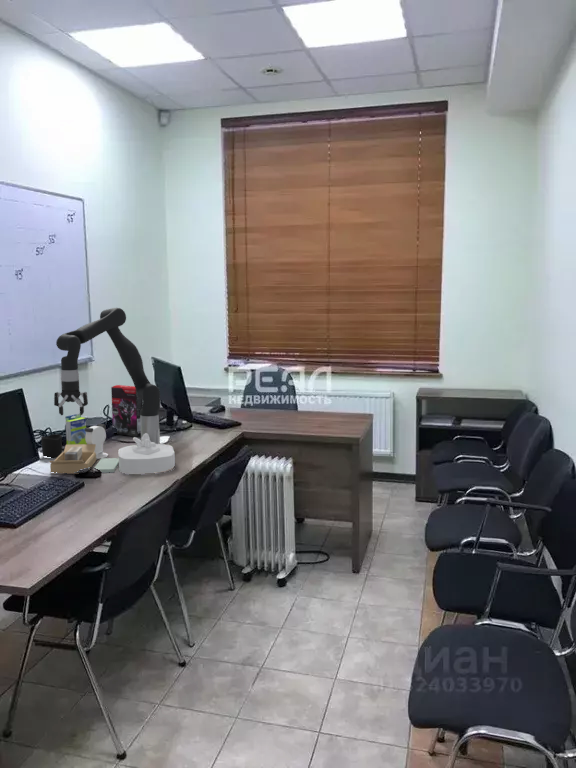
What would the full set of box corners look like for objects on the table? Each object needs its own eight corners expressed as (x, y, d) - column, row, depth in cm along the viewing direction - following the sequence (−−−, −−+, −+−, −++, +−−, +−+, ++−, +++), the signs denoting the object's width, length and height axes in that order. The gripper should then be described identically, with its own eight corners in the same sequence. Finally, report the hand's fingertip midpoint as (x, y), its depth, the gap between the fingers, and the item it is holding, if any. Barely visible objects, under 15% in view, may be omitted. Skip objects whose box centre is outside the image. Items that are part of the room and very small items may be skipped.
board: (120, 461, 299) (120, 458, 299) (113, 472, 282) (113, 469, 282) (101, 461, 299) (101, 458, 298) (93, 472, 281) (93, 469, 281)
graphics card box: (111, 434, 352) (110, 386, 348) (119, 431, 358) (117, 384, 354) (137, 437, 346) (135, 388, 341) (144, 434, 352) (143, 386, 348)
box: (71, 451, 316) (70, 417, 314) (65, 450, 318) (64, 416, 316) (87, 446, 325) (86, 413, 323) (82, 445, 327) (80, 412, 325)
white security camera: (94, 451, 316) (93, 422, 313) (113, 454, 312) (112, 424, 309) (79, 457, 305) (77, 427, 302) (98, 460, 301) (97, 429, 298)
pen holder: (60, 458, 303) (59, 438, 301) (40, 459, 301) (39, 439, 299) (64, 453, 312) (63, 433, 310) (44, 454, 310) (43, 434, 309)
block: (82, 463, 296) (81, 446, 294) (75, 471, 283) (74, 454, 282) (72, 463, 295) (72, 446, 294) (65, 471, 282) (64, 454, 281)
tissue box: (119, 476, 277) (118, 441, 274) (118, 461, 301) (117, 428, 298) (176, 472, 284) (176, 437, 281) (171, 457, 307) (170, 425, 305)
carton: (98, 458, 303) (98, 444, 302) (84, 476, 276) (84, 460, 275) (64, 458, 302) (63, 444, 301) (47, 476, 274) (46, 460, 273)
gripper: (88, 378, 286) (89, 413, 289) (56, 378, 285) (57, 413, 288) (84, 380, 279) (85, 416, 282) (51, 380, 278) (53, 416, 280)
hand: (71, 414), depth 285 cm, fingers open, 8 cm apart
